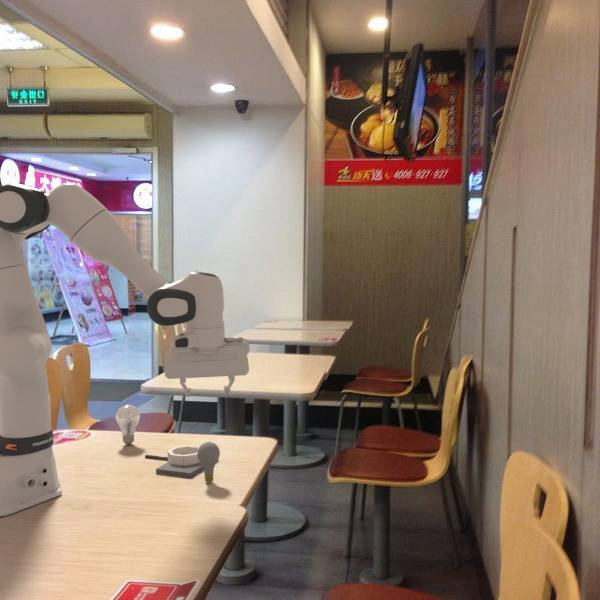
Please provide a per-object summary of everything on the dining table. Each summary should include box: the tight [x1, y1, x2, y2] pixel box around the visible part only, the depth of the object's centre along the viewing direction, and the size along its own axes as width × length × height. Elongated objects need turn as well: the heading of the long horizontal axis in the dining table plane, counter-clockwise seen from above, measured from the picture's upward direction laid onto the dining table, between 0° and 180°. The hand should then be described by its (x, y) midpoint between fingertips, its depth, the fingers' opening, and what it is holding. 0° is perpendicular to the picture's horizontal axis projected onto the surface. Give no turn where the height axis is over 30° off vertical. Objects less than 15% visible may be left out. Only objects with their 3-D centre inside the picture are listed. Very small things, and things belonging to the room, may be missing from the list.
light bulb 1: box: [115, 404, 141, 446], centre depth 185 cm, size 7×7×12 cm
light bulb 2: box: [197, 441, 221, 484], centre depth 152 cm, size 6×6×10 cm
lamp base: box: [144, 445, 204, 479], centre depth 166 cm, size 15×20×4 cm
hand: (207, 395), depth 151 cm, fingers open, 8 cm apart
